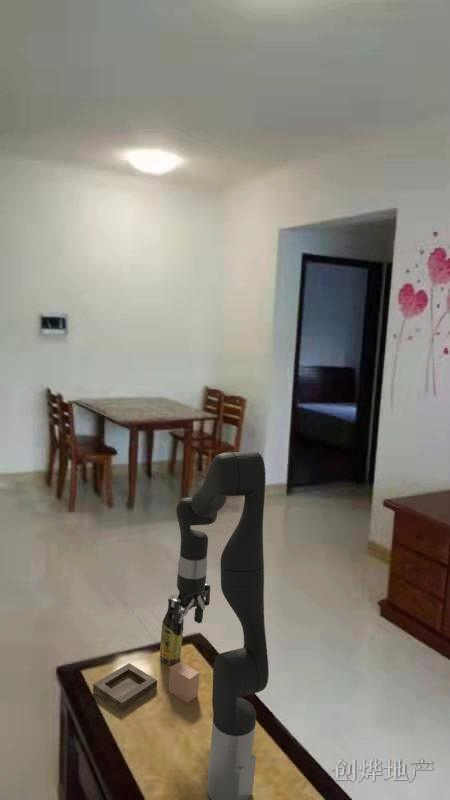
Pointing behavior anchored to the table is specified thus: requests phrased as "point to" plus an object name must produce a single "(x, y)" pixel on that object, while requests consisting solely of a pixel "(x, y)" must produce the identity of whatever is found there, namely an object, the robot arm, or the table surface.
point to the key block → (183, 681)
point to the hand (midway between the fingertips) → (187, 627)
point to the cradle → (125, 686)
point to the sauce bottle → (170, 639)
